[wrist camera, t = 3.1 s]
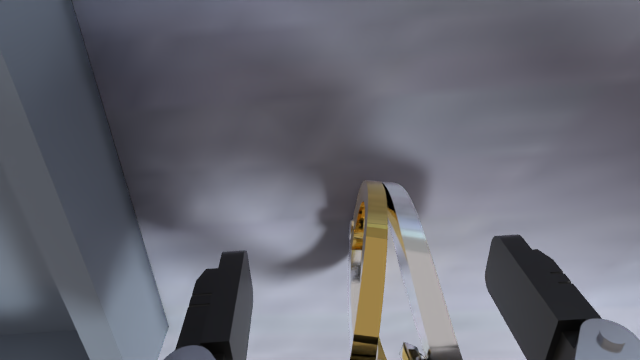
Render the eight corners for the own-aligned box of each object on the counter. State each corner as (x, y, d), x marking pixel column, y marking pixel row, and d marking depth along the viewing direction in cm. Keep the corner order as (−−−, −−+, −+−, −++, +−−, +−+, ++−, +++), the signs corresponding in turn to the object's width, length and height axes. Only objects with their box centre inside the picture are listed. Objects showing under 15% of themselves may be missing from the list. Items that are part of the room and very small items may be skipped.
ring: (326, 137, 14) (359, 331, 7) (421, 142, 14) (548, 335, 7) (310, 295, 17) (320, 536, 10) (387, 297, 17) (450, 533, 10)
